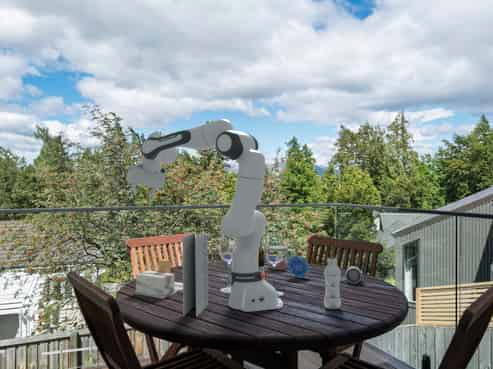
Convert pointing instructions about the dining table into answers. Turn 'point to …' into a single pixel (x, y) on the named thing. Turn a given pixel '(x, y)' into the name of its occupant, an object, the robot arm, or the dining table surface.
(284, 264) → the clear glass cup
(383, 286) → the dining table surface
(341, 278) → the ceramic mug
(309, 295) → the dining table surface
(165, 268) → the tan rectangular block
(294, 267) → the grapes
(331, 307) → the plastic bottle
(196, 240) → the brochure
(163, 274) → the block
